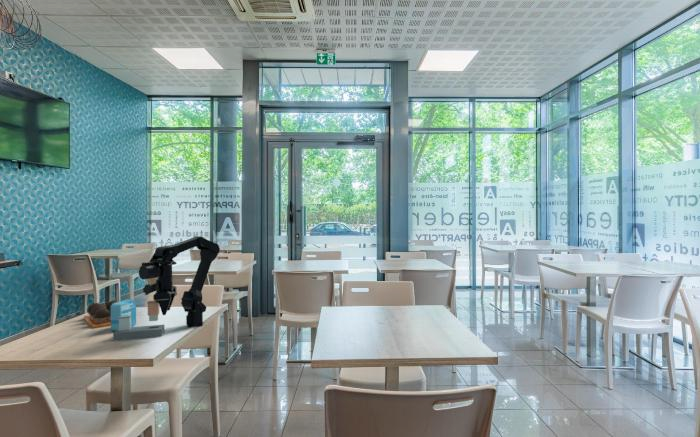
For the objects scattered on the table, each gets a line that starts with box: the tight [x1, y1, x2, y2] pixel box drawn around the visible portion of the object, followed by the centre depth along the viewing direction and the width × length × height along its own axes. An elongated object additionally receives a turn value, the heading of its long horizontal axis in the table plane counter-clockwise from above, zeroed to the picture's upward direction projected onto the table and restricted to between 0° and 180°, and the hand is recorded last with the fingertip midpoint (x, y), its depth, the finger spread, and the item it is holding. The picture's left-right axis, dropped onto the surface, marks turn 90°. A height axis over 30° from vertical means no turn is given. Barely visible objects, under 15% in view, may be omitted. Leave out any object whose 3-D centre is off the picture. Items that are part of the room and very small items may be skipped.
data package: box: [110, 299, 137, 332], centre depth 191 cm, size 12×4×12 cm, turn 175°
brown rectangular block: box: [146, 299, 160, 322], centre depth 179 cm, size 4×3×8 cm
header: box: [112, 324, 165, 341], centre depth 177 cm, size 18×8×3 cm, turn 105°
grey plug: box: [118, 315, 131, 331], centre depth 176 cm, size 4×3×8 cm
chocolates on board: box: [83, 300, 118, 330], centre depth 207 cm, size 28×17×8 cm, turn 40°
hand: (166, 312), depth 180 cm, fingers open, 9 cm apart
